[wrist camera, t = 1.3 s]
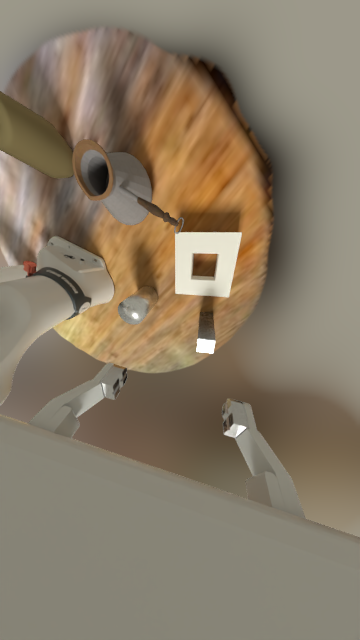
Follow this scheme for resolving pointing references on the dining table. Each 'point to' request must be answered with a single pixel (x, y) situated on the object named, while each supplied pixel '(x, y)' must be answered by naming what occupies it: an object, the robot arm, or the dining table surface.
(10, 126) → the squeeze bottle
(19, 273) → the wine bottle
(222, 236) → the socket block
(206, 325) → the square bit
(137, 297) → the round bit
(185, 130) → the dining table surface
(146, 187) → the coffee pot
